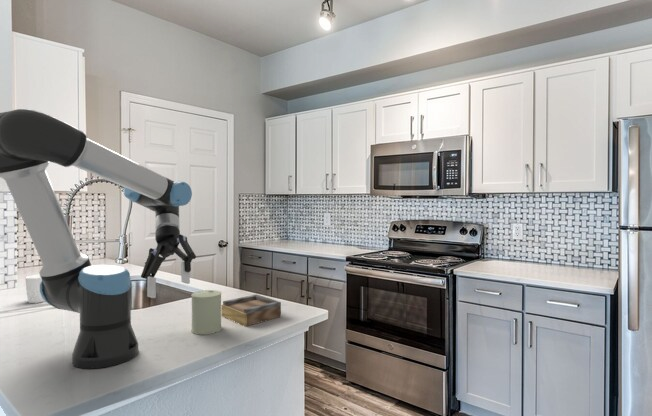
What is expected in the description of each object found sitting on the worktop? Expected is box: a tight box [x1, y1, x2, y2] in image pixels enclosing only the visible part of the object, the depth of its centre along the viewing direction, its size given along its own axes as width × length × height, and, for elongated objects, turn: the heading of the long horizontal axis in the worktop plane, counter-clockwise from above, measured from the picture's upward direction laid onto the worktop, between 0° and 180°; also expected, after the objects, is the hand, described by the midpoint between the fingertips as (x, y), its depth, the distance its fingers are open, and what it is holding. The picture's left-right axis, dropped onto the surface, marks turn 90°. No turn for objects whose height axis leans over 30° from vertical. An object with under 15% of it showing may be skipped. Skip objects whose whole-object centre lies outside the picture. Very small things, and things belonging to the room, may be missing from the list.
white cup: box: [25, 274, 45, 304], centre depth 156 cm, size 8×8×10 cm
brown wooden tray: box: [221, 294, 282, 327], centre depth 137 cm, size 15×15×5 cm
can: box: [190, 289, 223, 336], centre depth 123 cm, size 9×9×12 cm
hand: (168, 290), depth 120 cm, fingers open, 13 cm apart
